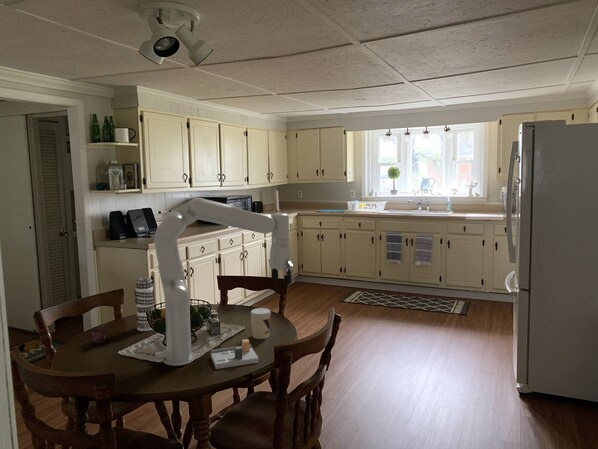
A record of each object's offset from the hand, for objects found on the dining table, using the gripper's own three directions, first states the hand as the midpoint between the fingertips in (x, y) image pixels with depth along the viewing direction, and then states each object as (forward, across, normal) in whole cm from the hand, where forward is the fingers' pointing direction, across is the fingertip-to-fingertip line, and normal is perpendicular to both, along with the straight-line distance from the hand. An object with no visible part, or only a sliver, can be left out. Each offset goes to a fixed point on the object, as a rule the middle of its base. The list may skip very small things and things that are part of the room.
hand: (281, 281), depth 197 cm
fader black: (+27, +4, -24) cm, 36 cm away
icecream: (+28, -53, -63) cm, 87 cm away
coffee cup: (+29, -16, -1) cm, 33 cm away
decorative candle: (+28, -59, -40) cm, 77 cm away
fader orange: (+27, -1, -18) cm, 32 cm away
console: (+29, 0, -24) cm, 37 cm away
